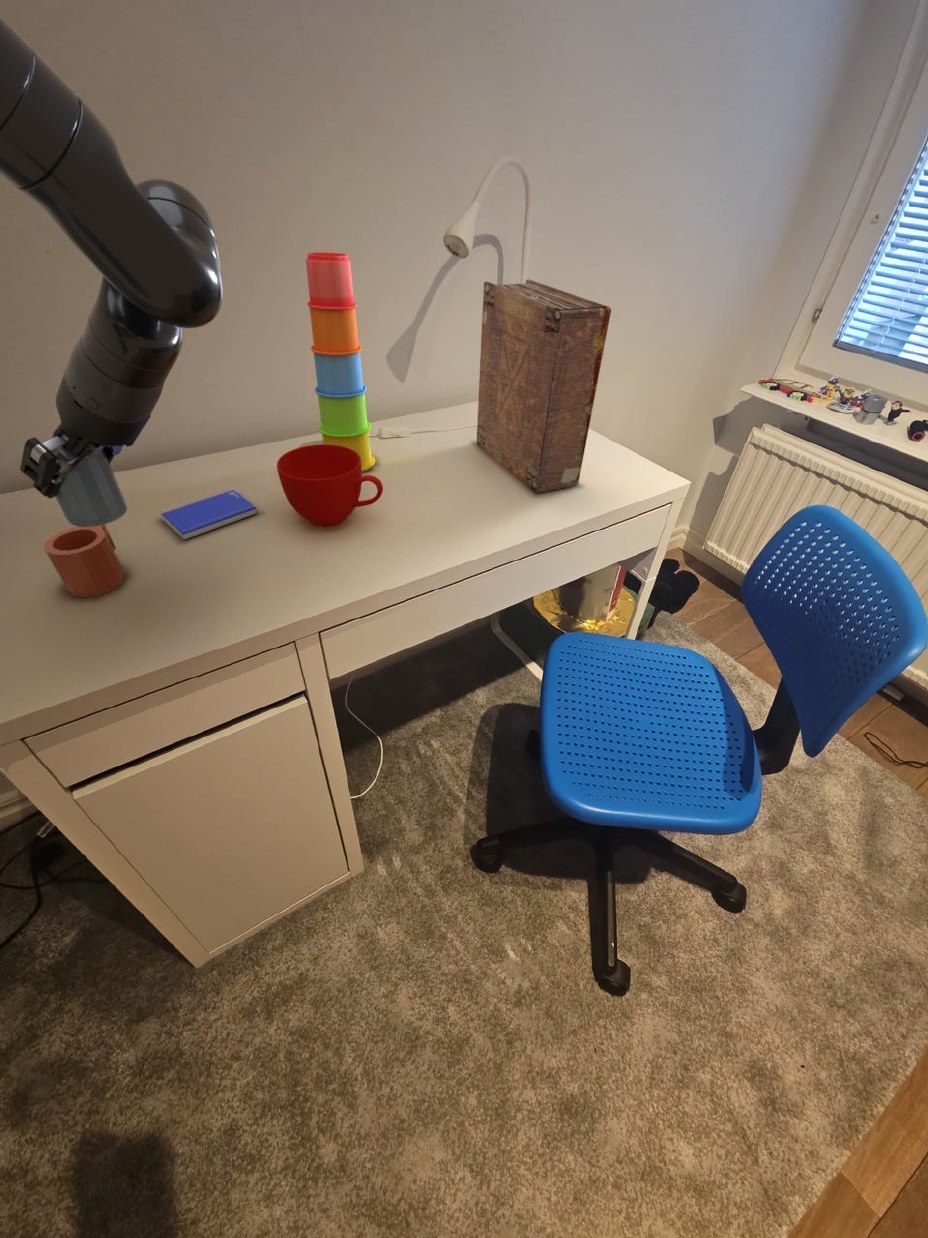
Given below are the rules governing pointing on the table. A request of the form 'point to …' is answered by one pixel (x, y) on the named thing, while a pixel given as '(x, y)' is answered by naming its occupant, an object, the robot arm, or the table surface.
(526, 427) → the book
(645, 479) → the table surface
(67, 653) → the table surface
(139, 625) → the table surface
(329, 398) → the stacking cups
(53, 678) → the table surface
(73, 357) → the robot arm
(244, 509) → the hard drive
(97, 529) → the mug
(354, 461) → the ceramic cup
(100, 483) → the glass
